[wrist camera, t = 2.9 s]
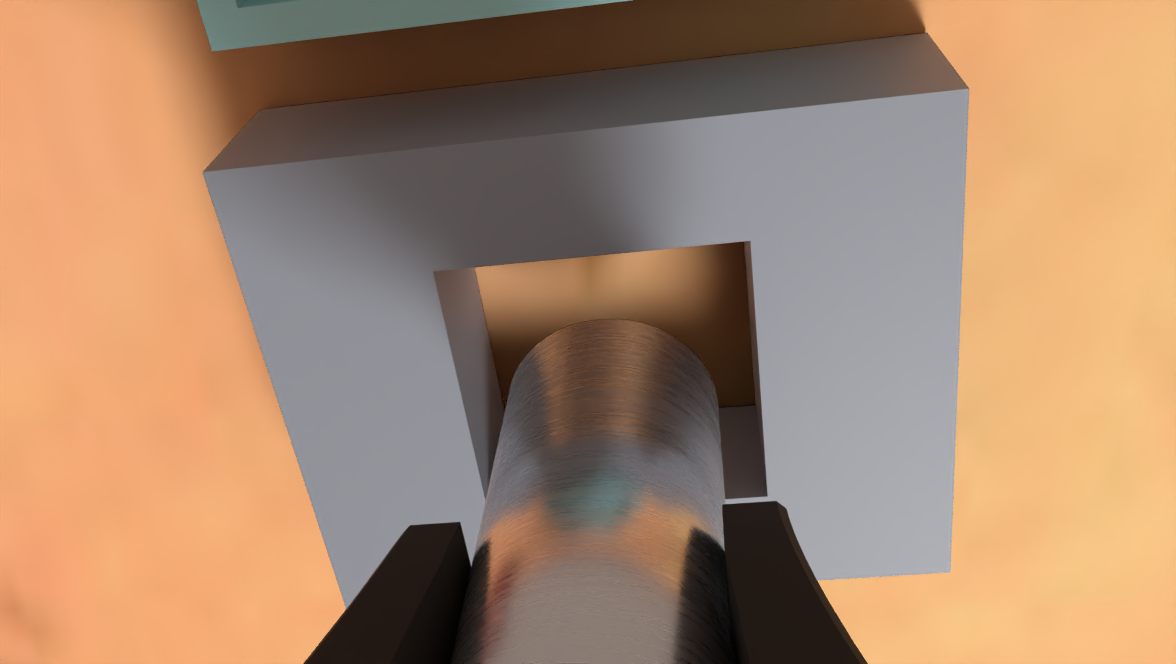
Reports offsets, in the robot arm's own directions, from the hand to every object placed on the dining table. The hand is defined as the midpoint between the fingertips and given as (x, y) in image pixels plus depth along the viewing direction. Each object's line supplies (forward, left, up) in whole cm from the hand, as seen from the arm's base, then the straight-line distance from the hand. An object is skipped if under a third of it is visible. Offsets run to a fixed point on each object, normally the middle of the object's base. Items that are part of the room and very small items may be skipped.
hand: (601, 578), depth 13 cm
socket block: (0, 0, -7) cm, 7 cm away
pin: (0, 0, -4) cm, 3 cm away
